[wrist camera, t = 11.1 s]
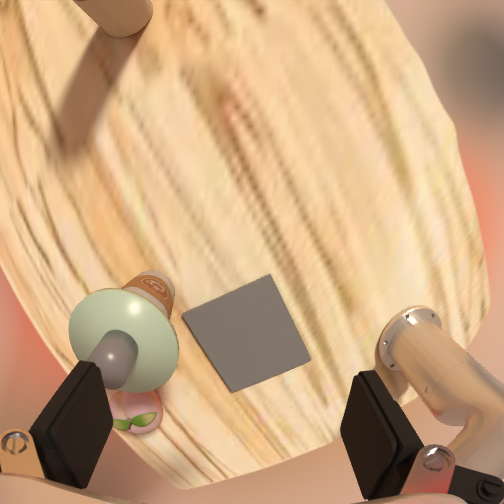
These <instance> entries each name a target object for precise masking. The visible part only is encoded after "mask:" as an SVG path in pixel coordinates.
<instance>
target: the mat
mask: <svg viewBox="0 0 504 504" xmlns="http://www.w3.org/2000/svg"><path fill="white" fill-rule="evenodd" d="M182 316H183V318H184V319H185V321H186V322H187V324H188V326H189V327H190V329H191V331H192V332H193V334H194V335H195V337H196V338H197V340H198V342H199V343H200V345H201V346H202V348H203V349H204V351H205V353H206V354H207V356H208V357H209V359H210V360H211V362H212V363H213V365H214V366H215V368H216V369H217V371H218V372H219V374H220V375H221V377H222V378H223V380H224V381H225V383H226V384H227V386H228V387H229V388H230V390H231V391H232V392H235V391H237V390H240V389H243V388H245V387H248V386H251V385H253V384H256V383H258V382H261V381H263V380H266V379H268V378H271V377H273V376H276V375H278V374H281V373H283V372H285V371H288V370H290V369H292V368H295V367H297V366H299V365H302V364H304V363H306V362H308V361H311V358H310V356H309V353H308V351H307V349H306V347H305V345H304V343H303V341H302V339H301V337H300V335H299V333H298V330H297V328H296V326H295V324H294V322H293V320H292V318H291V316H290V314H289V312H288V310H287V308H286V306H285V303H284V301H283V299H282V297H281V295H280V293H279V291H278V289H277V287H276V285H275V283H274V281H273V279H272V277H271V274H268V275H266V276H264V277H262V278H260V279H257V280H255V281H253V282H251V283H249V284H247V285H244V286H242V287H240V288H238V289H236V290H234V291H231V292H229V293H227V294H225V295H223V296H220V297H218V298H216V299H214V300H212V301H209V302H207V303H205V304H203V305H200V306H198V307H196V308H194V309H192V310H189V311H187V312H185V313H183V314H182Z"/></svg>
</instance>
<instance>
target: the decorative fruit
mask: <svg viewBox="0 0 504 504" xmlns="http://www.w3.org/2000/svg"><path fill="white" fill-rule="evenodd" d="M109 405H110V409H111V412H112V416H113V428H115V429H117V430H122V431H127V432H130V433H133V434H145V433H148V432H151V431H153V430H154V429H156V428H157V427H158V426H159V424H160V423H161V421H162V417H163V408H162V404H161V401H160V398H159V396H158V395H157V393H156V392H155V391H154V390H152V391H148V392H143V393H130V392H124V391H119V392H117V393H116V394H115V395H114V396H113V397H112V398H111V399H110V401H109Z"/></svg>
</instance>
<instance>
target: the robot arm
mask: <svg viewBox="0 0 504 504" xmlns="http://www.w3.org/2000/svg"><path fill="white" fill-rule="evenodd" d="M379 356H380V358H381V361H382V362H383V363H384V365H385V366H386V367H387V368H389V369H391V370H394V371H401V372H402V374H403V375H404V376H405V378H406V379H407V380H408V382H409V383H410V384H411V386H412V387H413V388H414V390H415V391H416V392H417V394H418V395H419V396H420V398H421V399H422V401H423V402H424V403H425V405H426V406H427V407H428V409H429V410H430V411H431V413H432V414H433V415H434V417H435V418H436V419H437V420H438V421H440V422H441V423H444V424H446V425H450V426H464V428H463V429H462V430H461V432H460V433H459V434H458V435H457V436H456V438H455V439H454V440H453V441H452V442H451V443H450V444H449V445H448V446H447V447H444V446H442V445H436V444H434V445H428V446H425V447H424V445H423V443H422V442H421V440H420V438H419V437H418V435H417V433H416V432H415V430H414V429H413V427H412V425H411V424H410V422H409V421H408V419H407V417H406V415H405V414H404V412H403V411H402V409H401V407H400V406H399V404H398V403H397V402H396V401H394V400H393V398H392V396H391V395H390V393H389V391H388V390H387V388H386V387H385V385H384V383H383V382H382V380H381V379H380V377H379V376H378V374H377V372H376V371H375V370H369V371H360V372H359V373H358V375H356V376H354V378H353V382H352V386H351V390H350V394H349V398H348V401H347V405H346V409H345V412H344V416H343V419H342V423H341V427H340V432H341V436H342V439H343V442H344V445H345V447H346V450H347V453H348V456H349V459H350V462H351V464H352V467H353V470H354V473H355V476H356V479H357V481H358V485H359V487H360V490H361V493H362V496H363V498H364V499H368V501H365V502H360V503H354V504H504V482H503V481H502V479H503V478H504V384H503V383H502V382H500V381H499V380H498V379H497V378H496V377H494V376H493V375H492V374H491V373H490V372H488V371H487V370H486V369H485V368H484V367H483V366H482V365H481V364H480V363H478V362H477V361H476V360H475V359H474V358H473V357H472V356H471V355H470V354H469V353H468V352H466V351H465V350H464V349H463V348H462V347H461V346H460V345H459V344H458V343H456V342H455V341H454V340H453V339H452V338H451V337H450V336H448V335H447V334H446V333H445V332H444V331H443V330H442V328H441V321H440V318H439V316H438V314H437V313H436V312H435V311H433V310H432V309H431V308H429V307H426V306H414V307H410V308H408V309H406V310H404V311H402V312H400V313H399V314H398V315H396V316H395V317H394V318H393V319H392V320H391V321H390V322H389V324H388V325H387V326H386V328H385V330H384V331H383V333H382V336H381V338H380V342H379ZM112 427H113V416H112V412H111V409H110V405H109V402H108V398H107V394H106V390H105V387H104V383H103V378H102V374H101V370H100V368H99V367H97V366H96V364H95V363H94V362H89V361H83V360H80V361H79V362H78V363H77V365H76V366H75V367H74V369H73V370H72V371H71V372H70V374H69V375H68V376H67V378H66V379H65V380H64V382H63V383H62V385H61V386H60V387H59V389H58V390H57V391H56V393H55V394H54V395H53V397H52V398H51V400H50V401H49V402H48V404H47V405H46V406H45V408H44V409H43V411H42V412H41V414H40V415H39V417H38V418H37V419H36V421H35V422H34V424H33V425H32V426H31V429H30V430H29V431H28V432H27V431H25V430H23V429H18V428H15V429H10V430H7V431H5V432H4V433H2V435H1V436H0V504H143V503H138V502H133V501H128V500H123V499H118V498H114V497H109V496H105V495H101V494H97V493H93V492H89V491H85V490H82V489H83V488H84V489H85V488H86V487H87V486H88V483H89V481H90V479H91V476H92V474H93V471H94V469H95V466H96V464H97V462H98V459H99V457H100V455H101V452H102V450H103V447H104V445H105V443H106V441H107V438H108V436H109V434H110V431H111V429H112Z"/></svg>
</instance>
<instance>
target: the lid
mask: <svg viewBox="0 0 504 504" xmlns="http://www.w3.org/2000/svg"><path fill="white" fill-rule="evenodd" d="M69 339H70V343H71V346H72V349H73V351H74V353H75V355H76V357H77V359H78V360H79V361H80V360H83V361H89V362H94V363H95V364H96V366H97V367H99V368H100V370H101V374H102V378H103V383H104V387H105V388H107V389H116V390H119V391H124V392H130V393H143V392H148V391H152V390H155V389H157V388H159V387H160V386H162V385H164V384H165V383H166V382H167V381H168V380H169V379H170V378H171V376H172V374H173V373H174V371H175V368H176V365H177V361H178V357H179V342H178V338H177V334H176V332H175V329H174V327H173V325H172V324H171V322H170V320H169V319H168V318H167V316H166V315H165V314H164V313H163V312H162V310H161V309H160V308H159V307H157V306H156V305H155V304H154V303H153V302H151V301H150V300H148V299H147V298H145V297H143V296H142V295H140V294H137V293H135V292H132V291H129V290H126V289H120V288H106V289H101V290H97V291H95V292H93V293H91V294H89V295H88V296H86V297H85V298H84V299H83V300H82V301H81V302H80V303H79V304H78V305H77V306H76V307H75V309H74V311H73V313H72V315H71V318H70V321H69Z"/></svg>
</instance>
